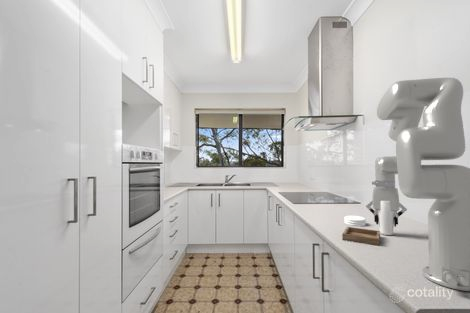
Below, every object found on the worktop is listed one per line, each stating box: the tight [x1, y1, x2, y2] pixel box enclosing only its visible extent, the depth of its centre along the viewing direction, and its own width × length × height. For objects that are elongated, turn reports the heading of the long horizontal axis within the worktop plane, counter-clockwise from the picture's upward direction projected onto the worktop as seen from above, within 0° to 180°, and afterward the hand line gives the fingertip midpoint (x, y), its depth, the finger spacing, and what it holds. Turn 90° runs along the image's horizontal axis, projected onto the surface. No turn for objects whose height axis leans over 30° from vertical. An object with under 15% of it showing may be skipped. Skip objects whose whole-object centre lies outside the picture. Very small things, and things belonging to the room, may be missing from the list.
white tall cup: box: [377, 201, 395, 236], centre depth 108 cm, size 7×7×15 cm
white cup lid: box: [344, 215, 367, 227], centre depth 126 cm, size 10×10×4 cm
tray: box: [341, 226, 381, 247], centre depth 102 cm, size 13×13×2 cm
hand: (386, 224), depth 108 cm, fingers closed on white tall cup, 6 cm apart
